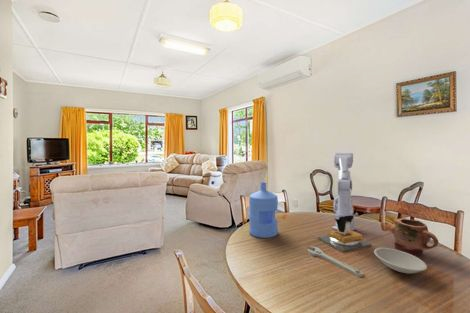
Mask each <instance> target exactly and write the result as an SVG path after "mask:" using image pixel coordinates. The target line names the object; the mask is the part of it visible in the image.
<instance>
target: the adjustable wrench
mask: <svg viewBox="0 0 470 313" xmlns="http://www.w3.org/2000/svg"><path fill="white" fill-rule="evenodd" d="M306 252H307V253H308V255H310V256H311V257H317V258H321V259H324V260H325V261H327V262H329V263H332V265H336V266H337V267H339V268H341V269H343V270H344V271H347V273H348V272H349V273H351V274H352V275H354V276H357V277H361V278H362V277H363V273H364V272H363V271H361V270H359V269H357V268H356V267H353V266H351V265H349V264H347V263H345V262H343V261H341V260H339V259H336V258H334V257H332V256H331V255H329V254H327V253H326V252H323V250H322V249H321V248H319V247H317V246H311V245H310V246H309V248H307V249H306Z"/></svg>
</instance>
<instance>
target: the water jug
mask: <svg viewBox="0 0 470 313" xmlns="http://www.w3.org/2000/svg"><path fill="white" fill-rule="evenodd" d="M248 200H249V214H248V215H249V216H248V217H249V228H248V229H249V233H250V235H251V236H253V237H255V238H260V239H261V238H262V239H268V238H274V237H275V236H277V235H278V233H279V230H278V228H279V227H278V220H277V219H276V211H277V209H278V205H279V202H278V201H279V199H278V195H277V194H275V193H273V192H271V191H268V190H267V182H263V181H262V182H260V189H259V190H258V191H255V192H253V193H251V194H250V195H249V199H248Z"/></svg>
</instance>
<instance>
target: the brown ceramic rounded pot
mask: <svg viewBox="0 0 470 313" xmlns="http://www.w3.org/2000/svg"><path fill="white" fill-rule="evenodd" d="M389 231H390V233H391V234H392V235H393V236H394V242H393V244H394V249H396V250H399V251H403V252H406V253H408V254H411V255H413V256H415V257H418V256H421V255H423V253H424V251H428V250H432V249H434V248H436V247H438V245H439V239H438V238H437V236H436V235H435V234H434V233H432V232H430V231H429V228H428V225H427V224H426V223H423V222H422V221H421V220H418V219H417V220H415V219H406V218H396V219H394V220H393V223H392V224H391V226H390V229H389ZM431 239H432V241H433V245H431V246H429V245H428V243H430V241H431Z"/></svg>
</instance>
